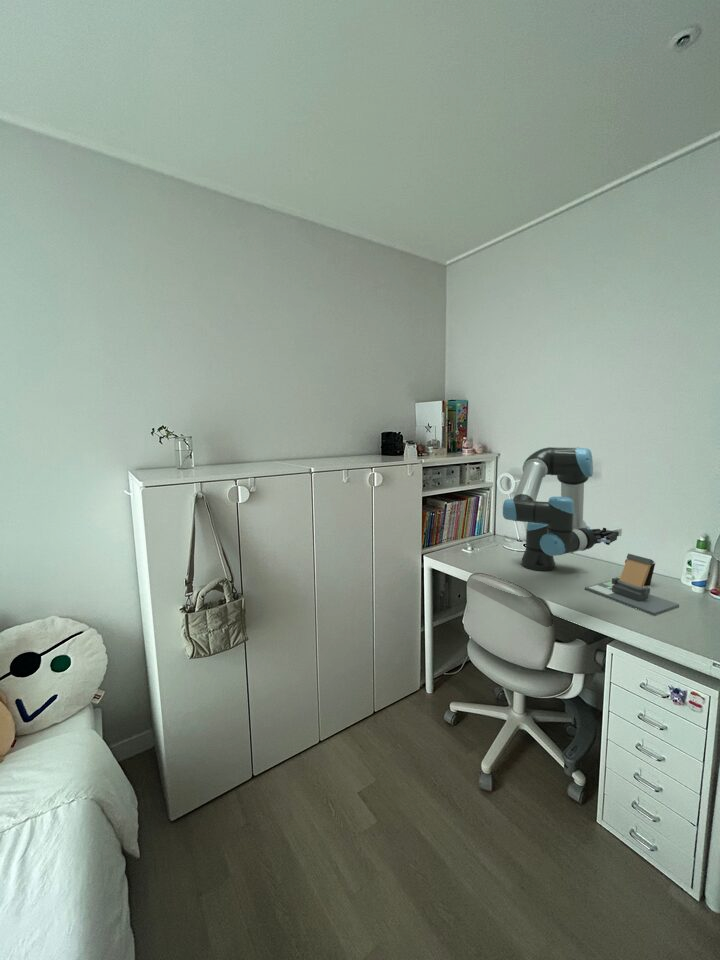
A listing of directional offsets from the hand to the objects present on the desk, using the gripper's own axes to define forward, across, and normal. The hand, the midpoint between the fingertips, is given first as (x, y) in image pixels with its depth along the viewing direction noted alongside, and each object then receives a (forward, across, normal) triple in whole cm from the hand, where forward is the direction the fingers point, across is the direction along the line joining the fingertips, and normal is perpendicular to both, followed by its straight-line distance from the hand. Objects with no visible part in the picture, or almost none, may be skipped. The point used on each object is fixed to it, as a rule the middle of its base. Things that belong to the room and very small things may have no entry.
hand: (619, 531), depth 145 cm
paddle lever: (+9, 0, -23) cm, 25 cm away
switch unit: (+9, 0, -28) cm, 29 cm away
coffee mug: (+30, -8, -28) cm, 42 cm away
